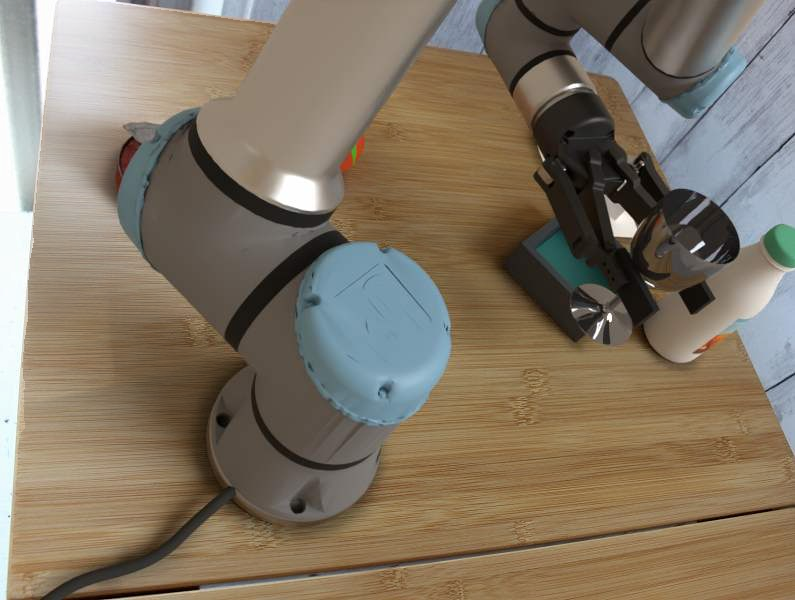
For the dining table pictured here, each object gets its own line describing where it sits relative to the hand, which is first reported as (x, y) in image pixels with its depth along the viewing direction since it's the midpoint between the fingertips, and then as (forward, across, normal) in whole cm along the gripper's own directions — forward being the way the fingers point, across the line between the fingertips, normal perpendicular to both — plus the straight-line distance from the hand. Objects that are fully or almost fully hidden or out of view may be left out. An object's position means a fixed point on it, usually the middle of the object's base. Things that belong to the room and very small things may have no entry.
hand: (675, 312), depth 74 cm
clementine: (-32, +17, -18) cm, 41 cm away
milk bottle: (-4, -18, -18) cm, 26 cm away
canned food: (-31, +35, -18) cm, 50 cm away
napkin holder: (-26, -18, -18) cm, 37 cm away
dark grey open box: (-14, -8, -18) cm, 24 cm away
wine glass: (-4, 0, -8) cm, 9 cm away
